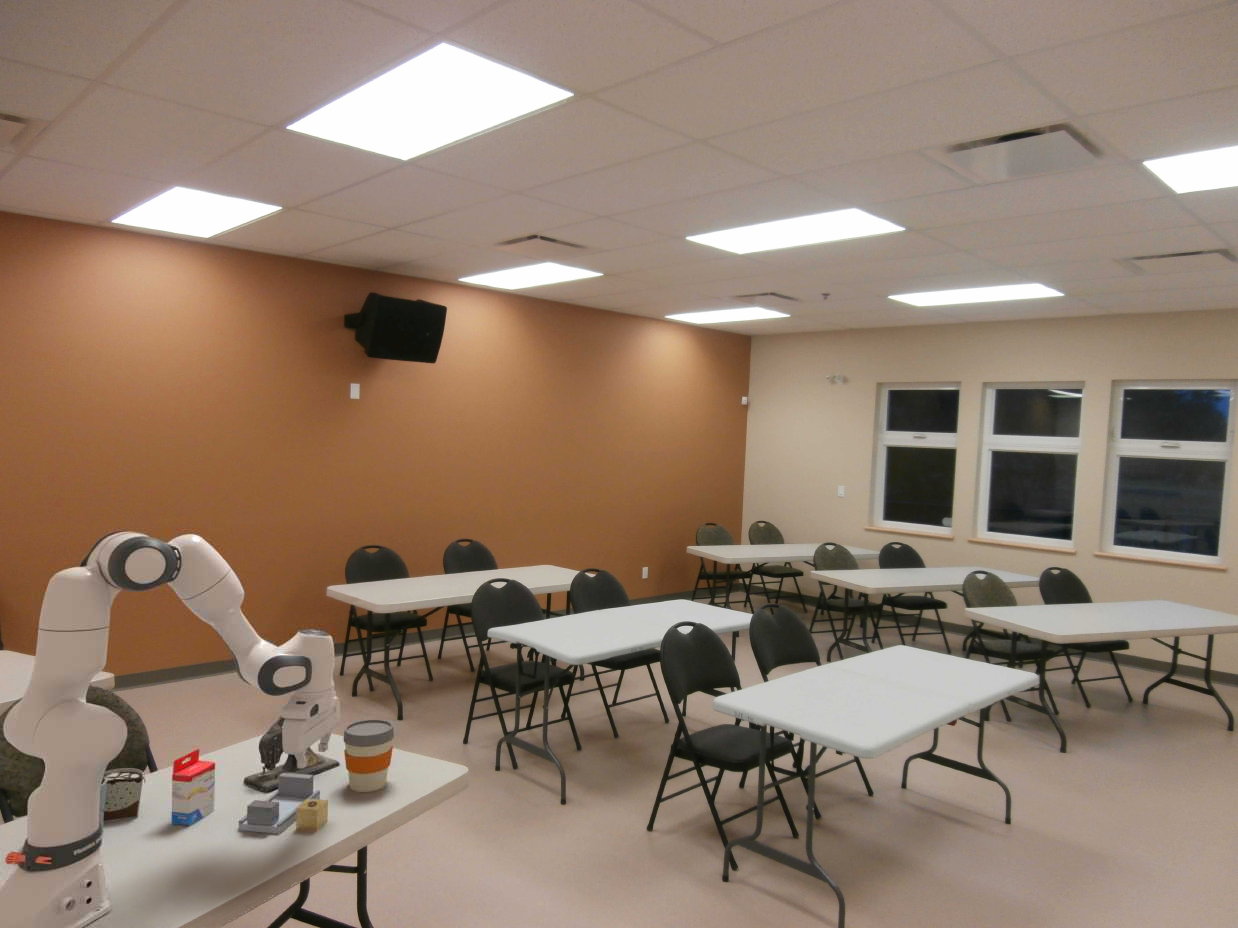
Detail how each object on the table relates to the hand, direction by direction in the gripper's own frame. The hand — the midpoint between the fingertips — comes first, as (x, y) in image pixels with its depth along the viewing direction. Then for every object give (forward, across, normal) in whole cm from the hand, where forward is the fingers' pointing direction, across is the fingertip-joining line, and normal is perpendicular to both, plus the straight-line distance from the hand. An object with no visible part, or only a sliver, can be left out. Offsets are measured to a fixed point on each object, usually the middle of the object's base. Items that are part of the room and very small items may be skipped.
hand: (313, 758), depth 181 cm
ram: (+14, +3, -10) cm, 17 cm away
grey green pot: (+15, +14, -47) cm, 51 cm away
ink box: (+16, +1, -29) cm, 33 cm away
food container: (+16, +3, -47) cm, 50 cm away
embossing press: (+16, -26, -19) cm, 36 cm away
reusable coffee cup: (+16, -23, +3) cm, 28 cm away
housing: (+15, 0, 0) cm, 16 cm away
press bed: (+15, -4, -10) cm, 19 cm away
